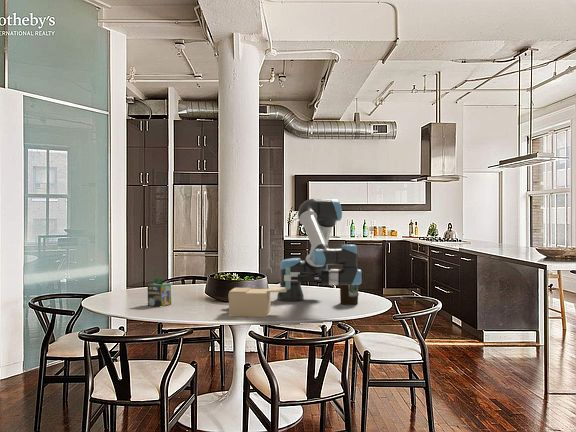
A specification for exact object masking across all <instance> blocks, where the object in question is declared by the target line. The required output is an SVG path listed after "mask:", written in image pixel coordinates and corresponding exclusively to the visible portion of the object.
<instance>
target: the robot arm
mask: <svg viewBox="0 0 576 432" xmlns="http://www.w3.org/2000/svg"><path fill="white" fill-rule="evenodd" d="M342 217H343V209H342V204H341V202H340V200H339V199H335V198H310V199H307V200H305V201H304V202H302V204H300V206H299V208H298V212H297V218H298V221H299V223H300V224H301V225H302V226H303V228H304V230H305V233H306V235H307V237H308V240H309V243H310V245H311V246H310V251H309V254H307V255H306V257H305V259H304V260H303V259H301V258H300V257H292V258H285V259H283V260H281V261H280V267H279V269H280V271H279V273H280V275H279V280H280V287H285V281H290V289H288V290H287V291H286V292H277V295H276V299H277V301H281V302H282V301H283V302H300V301H304V300H305V296H304V292H303V289H302V285H301V284H302V283H301V282H319V281H320V284H321V285H322V286H323V285H327V286H328V285H334V287H336V286H340V285H358V286H359V285H361V284H362V278H363V277H362V273H363V272H362V270H361V268H360V269H359V268H358V246H357V245H356V244H352V243H349V244H348V243H347V244H342V245H341V247H340V248H330V247H329V241H330V236H331V232H332V228H333V227H335V226H336V224H337V222H339V221H341V220H342ZM330 265H331V266H332V265H341V268H340V269H339V268H330V269H329V267H328V266H330ZM286 268H290V275H285V269H286Z"/></svg>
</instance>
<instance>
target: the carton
mask: <svg viewBox="0 0 576 432" xmlns="http://www.w3.org/2000/svg"><path fill="white" fill-rule="evenodd" d="M268 289H269V288H251V287H233V288H232V289H231V290H229V292H228V294H227V295H228V296H227V299H228V317H254V318H255V317H261V318H262V317H263V318H264V317H265V318H266V317H267V316H268V315H270V312H271V292H267V290H268Z"/></svg>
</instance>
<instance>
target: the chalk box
mask: <svg viewBox="0 0 576 432" xmlns="http://www.w3.org/2000/svg"><path fill="white" fill-rule="evenodd" d="M158 280H159V281H158ZM146 286H147V307H157V306H163V307H166V306H169V305H172V283H171V282H163V278H162V277H154V283H149V284H147V285H146Z"/></svg>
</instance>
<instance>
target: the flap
mask: <svg viewBox="0 0 576 432" xmlns="http://www.w3.org/2000/svg"><path fill="white" fill-rule="evenodd" d="M285 275H290V268H286V269H285ZM267 289H268V290H267V292H270V293H278V292H286V291H287V290H288V289H290V281H285V287H279V286H278V287H277V286H270V287H268V288H267Z"/></svg>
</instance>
